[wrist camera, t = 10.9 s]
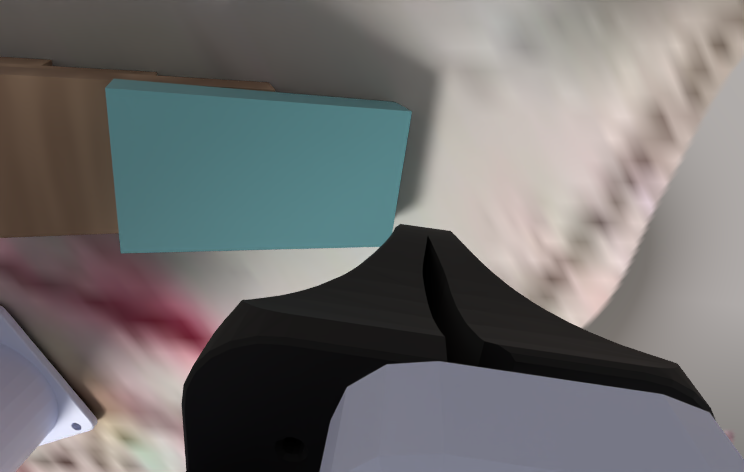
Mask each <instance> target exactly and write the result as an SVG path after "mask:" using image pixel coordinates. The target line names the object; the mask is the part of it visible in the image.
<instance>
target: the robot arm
mask: <svg viewBox="0 0 744 472" xmlns="http://www.w3.org/2000/svg"><path fill="white" fill-rule="evenodd" d="M182 415H183V429H184V443H185V457H186V470H187V471H186V472H744V459H743V457H742V456H741V455H740V453H739V452H738V451H737V449H736V448H735V447H734V445H733V444H732V442H731V441H730V440H729V438H728V437H727V436H726V434H725V433H724V432H723V430H722V429H721V427H719V425H718V423H717V422H716V420H715V418H714V415H713V413H712V411H711V408H710V407H709V405H708V404H707V403H706V401H705V400H704V399H703V397H702V396H701V394H700V393H699V392H698V390H697V389H696V388H695V386H694V385H693V384H692V382H691V381H690V380H689V378H688V377H687V376H686V374H685V373H684V372H683V370H682V369H681V368H680V366H679V365H678V364H676V363H674V362H671V361H668V360H665V359H662V358H659V357H656V356H653V355H650V354H646V353H643V352H641V351H637V350H635V349H631V348H629V347H625V346H622V345H620V344H617V343H614V342H612V341H610V340H607V339H605V338H603V337H600V336H598V335H595V334H593V333H590V332H588V331H586V330H584V329H582V328H580V327H577V326H575V325H573V324H571V323H569V322H567V321H565V320H563V319H561V318H560V317H558V316H556V315H554V314H552V313H550V312H548V311H546V310H545V309H543V308H541V307H540V306H538V305H536V304H535V303H533V302H532V301H530V300H529V299H527V298H526V297H524V296H523V295H521V294H520V293H518V292H517V291H515V290H514V289H513V288H511V287H510V286H509V285H507V284H506V283H505V282H503V281H502V280H501V279H500V278H499V277H497V276H496V275H495V274H494V273H493V272H491V271H490V270H489V269H488V268H487V267H486V266H485V265H484V264H483V263H482V262H481V261H480V260H479V259H478V258H477V257H476V256H474V255H473V254H472V252H471V251H470V250H469V249H468V248H467V247H466V246H465V245H464V244H463V243H462V242H461V241H460V240H459V239H458V238H457V237H456V236H455V235H454V234H453V233H452V232H451V231H446V230H439V229H432V228H425V227H418V226H410V225H403V224H400V225H398V226H397V227H395V230H394V231H393V233H392V234H391V236H390V237H389V238H388V239H387V240H386V242H385V243H384V244H383V245H382V246H381V247H380V248H379V249H378V250H377V251H376V252H375V253H374V254H372V255H371V256H370V257H369V258H368V259H366V260H365V261H364V262H363V263H361V264H360V265H359V266H357V267H356V268H354V269H353V270H351V271H350V272H348V273H346V274H344V275H342V276H340V277H338V278H336V279H333V280H331V281H328V282H326V283H324V284H321V285H319V286H316V287H313V288H310V289H306V290H303V291H299V292H295V293H290V294H286V295H281V296H274V297H266V298H259V299H251V300H242V301H241V302H240V303H239V304H238V305H237V307H236V308H235V309H234V310H233V311H232V312H231V314H230V315H229V316H228V317H227V318H226V319H225V320H224V321H223V323H222V324H221V325H220V326H219V328H218V329H217V330H216V331H215V333H214V334H213V336H212V337H211V339H210V340H209V342H208V343H207V345H206V346H205V348H204V350H203V351H202V353H201V354H200V356H199V357H198V359H197V361H196V362H195V364H194V365H193V367H192V369H191V371H190V373H189V375H188V377H187V379H186V381H185V383H184V387H183V397H182ZM96 424H97V418H96V417H95V415H94V414H93V413H92V412H91V411H90V409H89V408H88V407H87V406H86V405H85V404H84V402H83V401H82V400H81V399H80V398H79V396H78V395H77V394H76V393H75V392H74V390H73V389H72V388H71V387H70V386H69V384H68V383H67V382H66V381H65V380H64V378H63V377H62V376H61V375H60V374H59V373H58V371H57V370H56V369H55V368H54V367H53V365H52V364H51V363H50V362H49V361H48V359H47V358H46V357H45V356H44V355H43V353H42V352H41V351H40V350H39V349H38V347H37V346H36V345H35V344H34V343H33V342H32V340H31V339H30V338H29V337H28V336H27V334H26V333H25V332H24V331H23V330H22V328H21V327H20V326H19V325H18V324H17V322H16V321H15V320H14V319H13V318H12V316H11V315H10V314H9V313H8V312H7V311H6V309H4V308H3V307H2V306H0V472H16V470H17V469H18V468H19V467H20V466H21V465H22V464H23V462H24V461H25V460H26V459H27V458H28V457H29V456H30V454H31V453H32V452H33V451H34V450H35V449H36V448H37V446H40V445H43V444H47V443H50V442H53V441H57V440H60V439H63V438H67V437H70V436H73V435H77V434H80V433H84V432H87V431H90V430H92V429H93V428H94V427H95V426H96Z"/></svg>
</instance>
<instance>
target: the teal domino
mask: <svg viewBox="0 0 744 472" xmlns="http://www.w3.org/2000/svg"><path fill="white" fill-rule="evenodd" d="M105 92H106V103H107V113H108V124H109V134H110V145H111V155H112V166H113V176H114V187H115V198H116V208H117V219H118V229H119V240H120V250H121V253H155V252H193V251H231V250H270V249H308V248H347V247H381V246H382V245H383V244H384V243H385V242H386V240H387V239H388V238H389V237H390V236H391V234H392V230H393V224H394V218H395V212H396V206H397V200H398V194H399V187H400V181H401V175H402V169H403V163H404V157H405V151H406V145H407V139H408V133H409V126H410V120H411V114H412V111H410V110H408V109H407V108H405V107H403V106H401V105H400V104H398V103H396V102H389V101H377V100H365V99H353V98H341V97H329V96H317V95H305V94H293V93H281V92H269V91H257V90H245V89H232V88H220V87H208V86H196V85H184V84H172V83H160V82H148V81H136V80H124V79H113V80H112V81H111V82H110V83H109V84H108V85H107V86H106V88H105Z"/></svg>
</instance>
